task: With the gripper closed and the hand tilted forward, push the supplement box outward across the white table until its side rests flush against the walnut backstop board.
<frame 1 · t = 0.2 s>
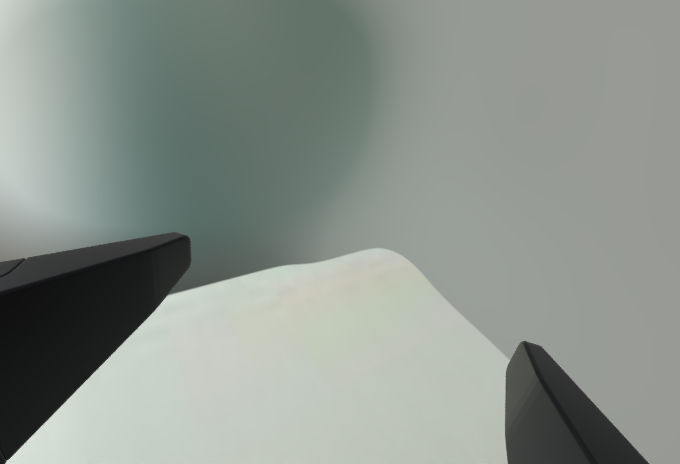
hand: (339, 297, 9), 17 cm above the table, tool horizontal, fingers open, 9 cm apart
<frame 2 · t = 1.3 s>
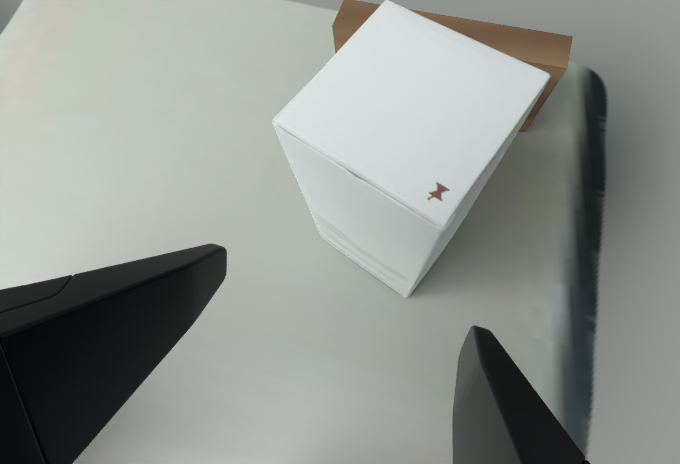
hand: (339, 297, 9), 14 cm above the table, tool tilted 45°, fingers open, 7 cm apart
supplement box: (392, 225, 25), on the table
board: (432, 98, 27), on the table
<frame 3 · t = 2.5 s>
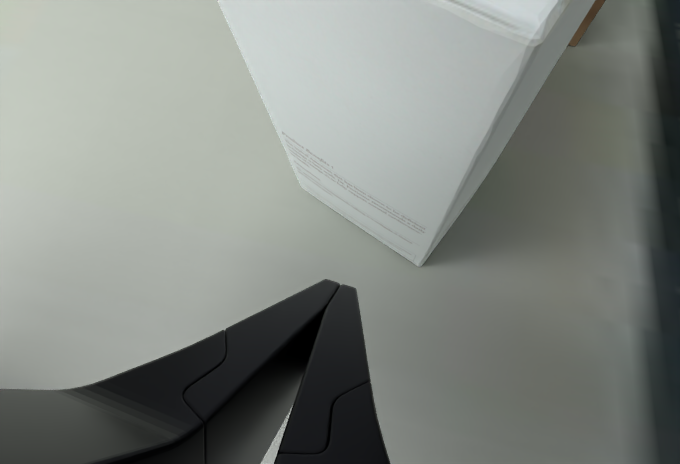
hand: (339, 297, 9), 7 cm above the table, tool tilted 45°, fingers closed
supplement box: (398, 171, 18), on the table
board: (449, 8, 21), on the table
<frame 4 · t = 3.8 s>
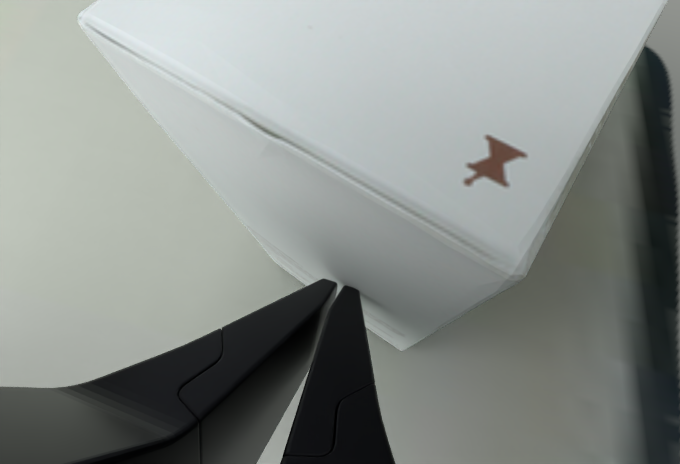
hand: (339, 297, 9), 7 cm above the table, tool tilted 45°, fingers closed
supplement box: (377, 242, 17), on the table, touching gripper
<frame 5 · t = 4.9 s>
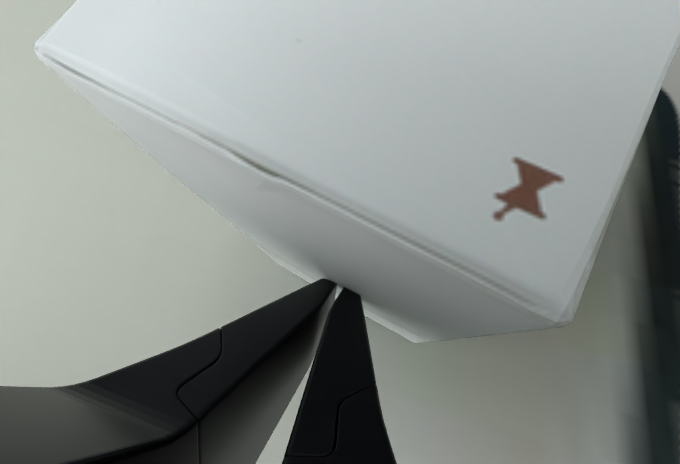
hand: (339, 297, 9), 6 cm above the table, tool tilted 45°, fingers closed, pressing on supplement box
supplement box: (381, 233, 17), on the table, touching board, gripper
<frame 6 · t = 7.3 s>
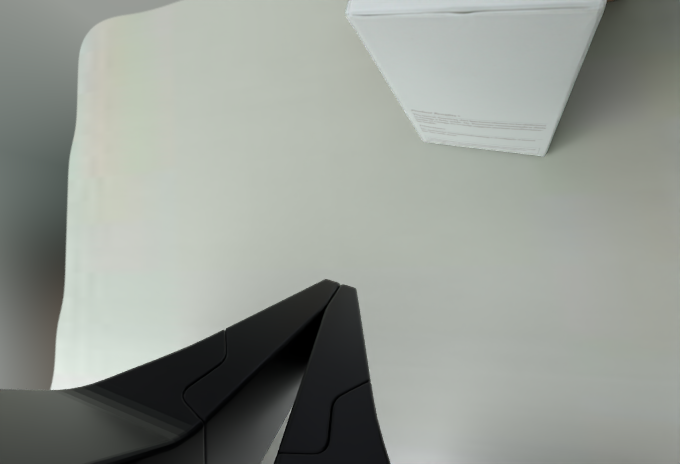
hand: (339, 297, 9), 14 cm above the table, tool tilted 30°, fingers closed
supplement box: (492, 93, 22), on the table
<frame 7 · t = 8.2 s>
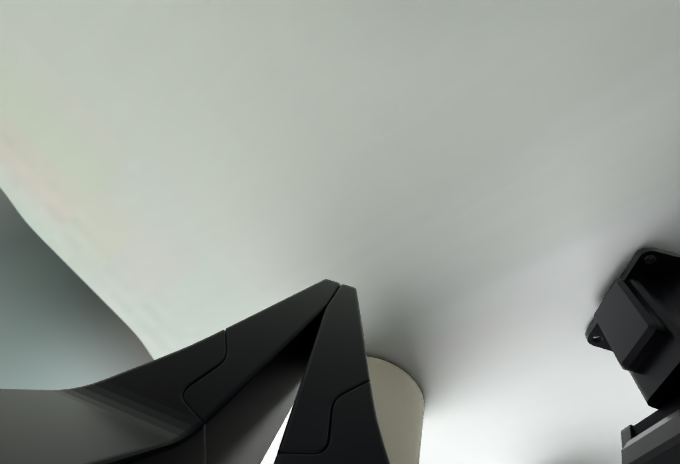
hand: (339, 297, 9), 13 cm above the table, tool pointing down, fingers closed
travel mug: (374, 390, 29), on the table
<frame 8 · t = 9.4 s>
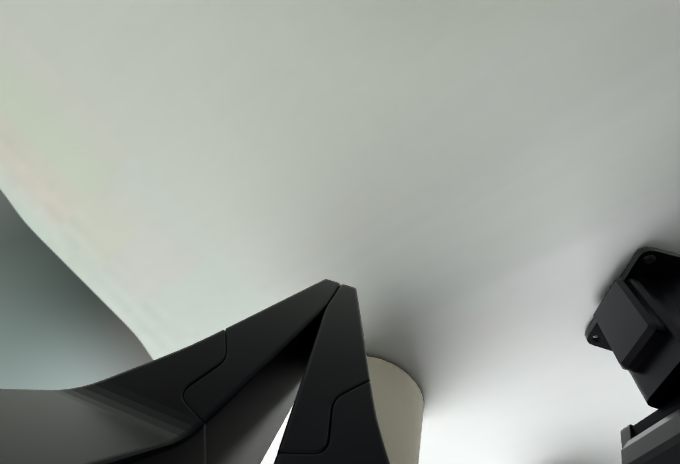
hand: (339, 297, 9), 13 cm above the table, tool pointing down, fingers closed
travel mug: (373, 390, 29), on the table
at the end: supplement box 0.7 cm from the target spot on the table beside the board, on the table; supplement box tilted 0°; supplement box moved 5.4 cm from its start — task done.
